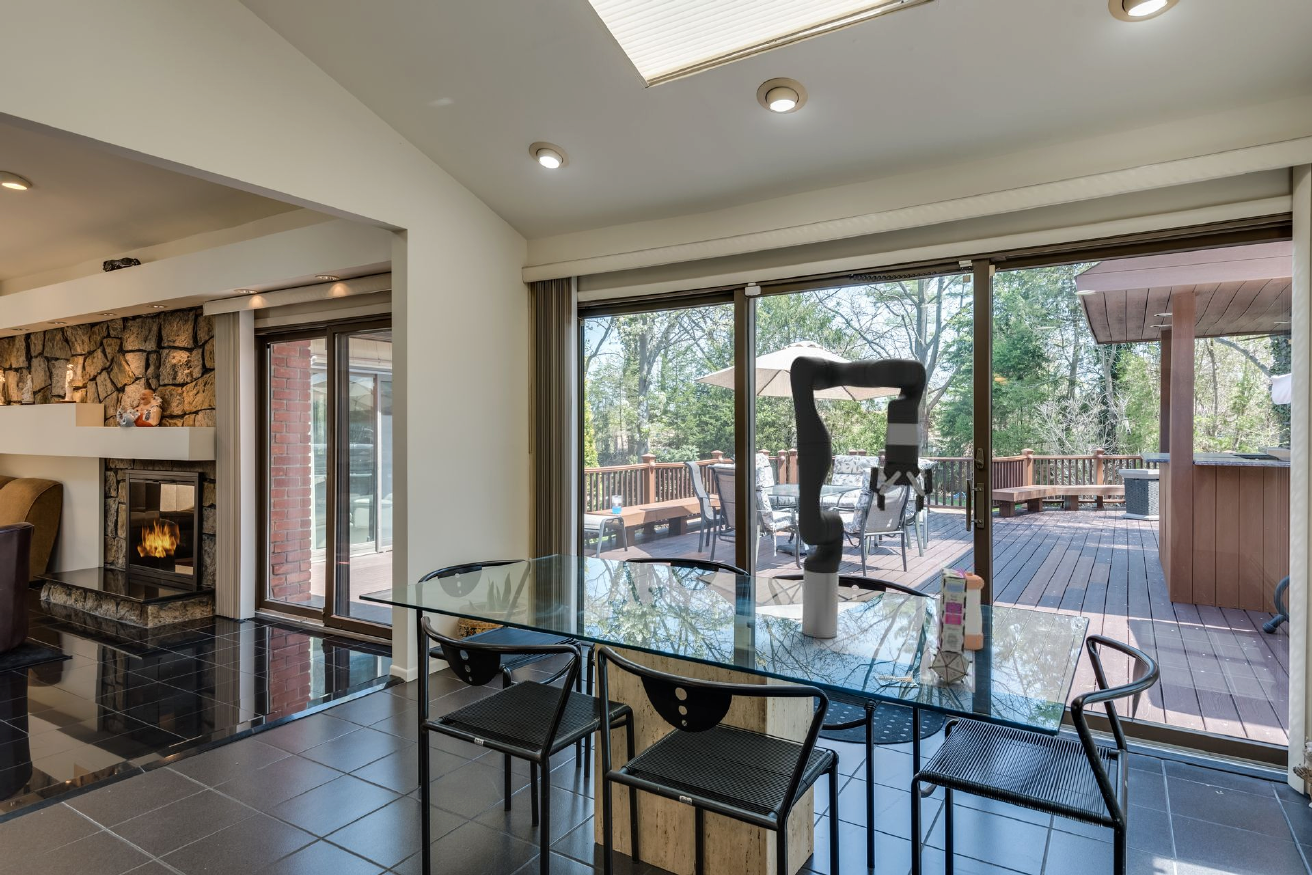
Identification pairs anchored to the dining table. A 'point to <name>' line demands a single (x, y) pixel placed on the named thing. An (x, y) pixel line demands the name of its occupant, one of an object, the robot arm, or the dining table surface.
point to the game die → (950, 666)
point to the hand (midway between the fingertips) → (900, 511)
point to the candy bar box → (952, 611)
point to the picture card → (896, 679)
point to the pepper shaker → (973, 613)
